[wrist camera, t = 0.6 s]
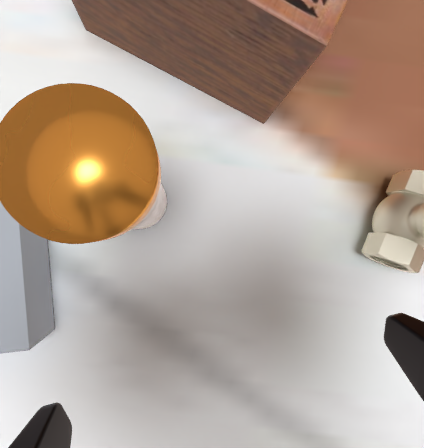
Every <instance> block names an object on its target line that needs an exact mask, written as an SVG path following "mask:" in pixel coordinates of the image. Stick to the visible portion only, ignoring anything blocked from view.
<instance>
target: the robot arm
mask: <svg viewBox="0 0 424 448" xmlns="http://www.w3.org/2000/svg"><path fill="white" fill-rule="evenodd" d="M384 341H385V344H386V346H387V347H388V349H389V350H390V352H391V353H392V355H393V356H394V358H395V359H396V361H397V362H398V364H399V365H400V367H401V368H402V370H403V371H404V373H405V374H406V376H407V377H408V379H409V380H410V382H411V383H412V385H413V386H414V388H415V389H416V391H417V392H418V394H419V395H420V397H421V398H422V399H423V401H424V322H423V321H421V320H418V319H416V318H414V317H411V316H409V315H406V314H403V313H398V314H394V315H390V316H388V317H387V318H386V324H385V332H384ZM71 436H72V425H71V422H70V420H69V418H68V416H67V414H66V412H65V411H64V409H63V407H62V405H61V404H60V403H53V404H50V405H46V406H43V407H41V408H40V409H39V410H38V411H37V412H36V414H35V415H34V416H33V417H32V419H31V420H30V421H29V422H28V424H27V425H26V426H25V428H24V429H23V430H22V431H21V433H20V434H19V435H18V436H17V438H16V439H15V440H14V441H13V443H12V444H11V445H10V446H9V448H70V445H71Z"/></svg>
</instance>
